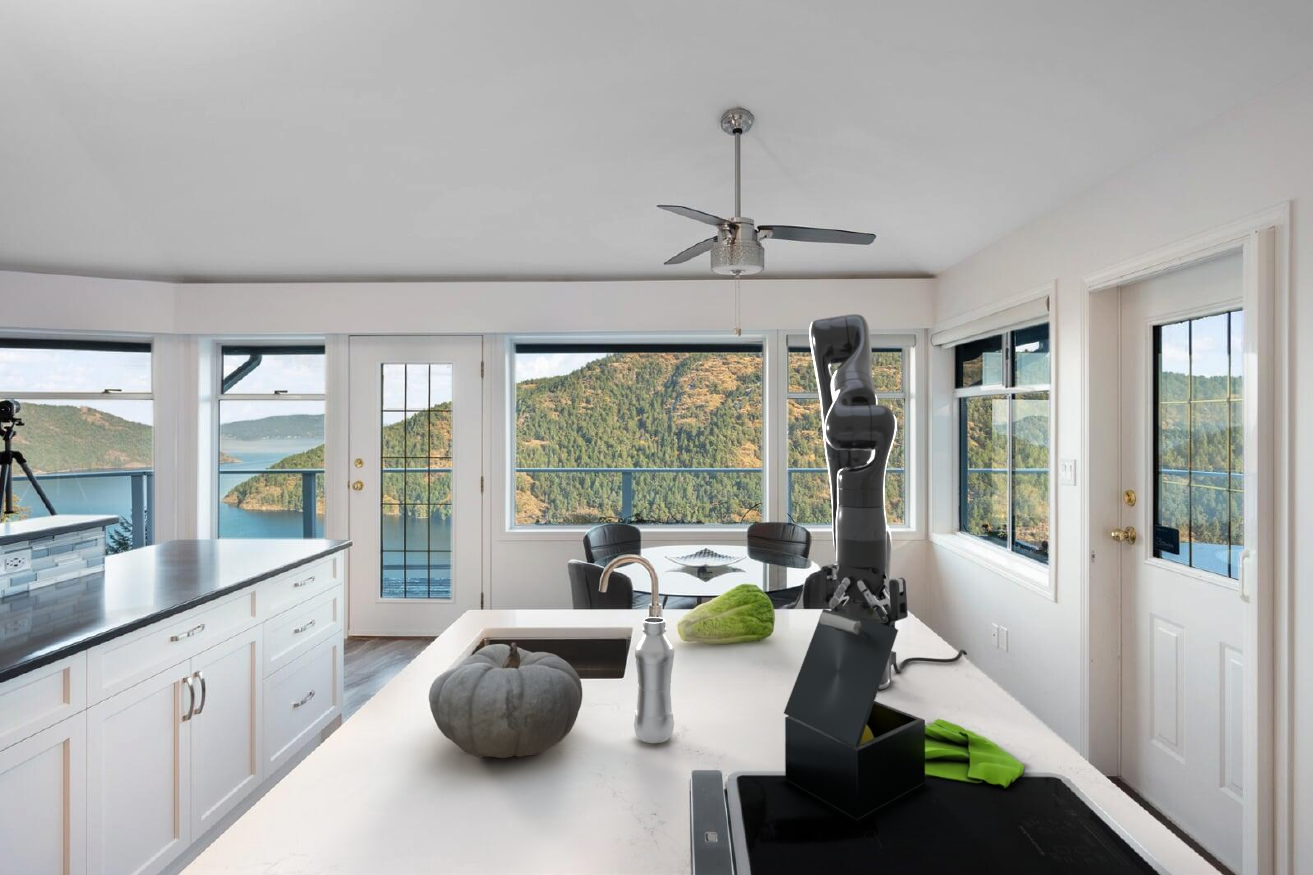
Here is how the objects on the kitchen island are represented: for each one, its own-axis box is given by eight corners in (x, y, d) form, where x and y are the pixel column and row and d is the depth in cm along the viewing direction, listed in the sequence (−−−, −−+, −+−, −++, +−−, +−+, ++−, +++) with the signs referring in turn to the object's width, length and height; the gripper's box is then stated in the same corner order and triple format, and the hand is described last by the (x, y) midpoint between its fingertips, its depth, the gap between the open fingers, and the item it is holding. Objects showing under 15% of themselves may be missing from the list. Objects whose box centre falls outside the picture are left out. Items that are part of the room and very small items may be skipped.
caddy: (852, 753, 105) (852, 692, 105) (925, 787, 95) (925, 719, 95) (785, 784, 96) (784, 717, 96) (857, 825, 85) (857, 750, 85)
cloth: (1025, 799, 92) (1025, 781, 92) (864, 761, 102) (864, 745, 102) (1025, 739, 109) (1025, 725, 109) (888, 712, 120) (887, 699, 120)
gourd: (415, 776, 93) (430, 648, 96) (428, 730, 116) (439, 629, 120) (590, 771, 99) (598, 652, 102) (568, 729, 123) (575, 633, 126)
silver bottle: (633, 731, 113) (632, 615, 113) (672, 730, 113) (672, 614, 113) (635, 749, 106) (634, 626, 106) (676, 747, 107) (676, 625, 107)
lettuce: (694, 667, 152) (672, 653, 165) (785, 639, 160) (757, 627, 174) (683, 607, 152) (662, 598, 166) (774, 582, 160) (747, 575, 174)
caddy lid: (826, 610, 101) (807, 597, 98) (898, 630, 91) (879, 615, 88) (786, 714, 96) (765, 703, 93) (858, 747, 86) (837, 736, 83)
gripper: (916, 537, 98) (917, 645, 98) (838, 526, 109) (839, 623, 109) (887, 543, 93) (888, 656, 93) (808, 531, 105) (809, 632, 105)
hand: (861, 638), depth 101 cm, fingers open, 8 cm apart
